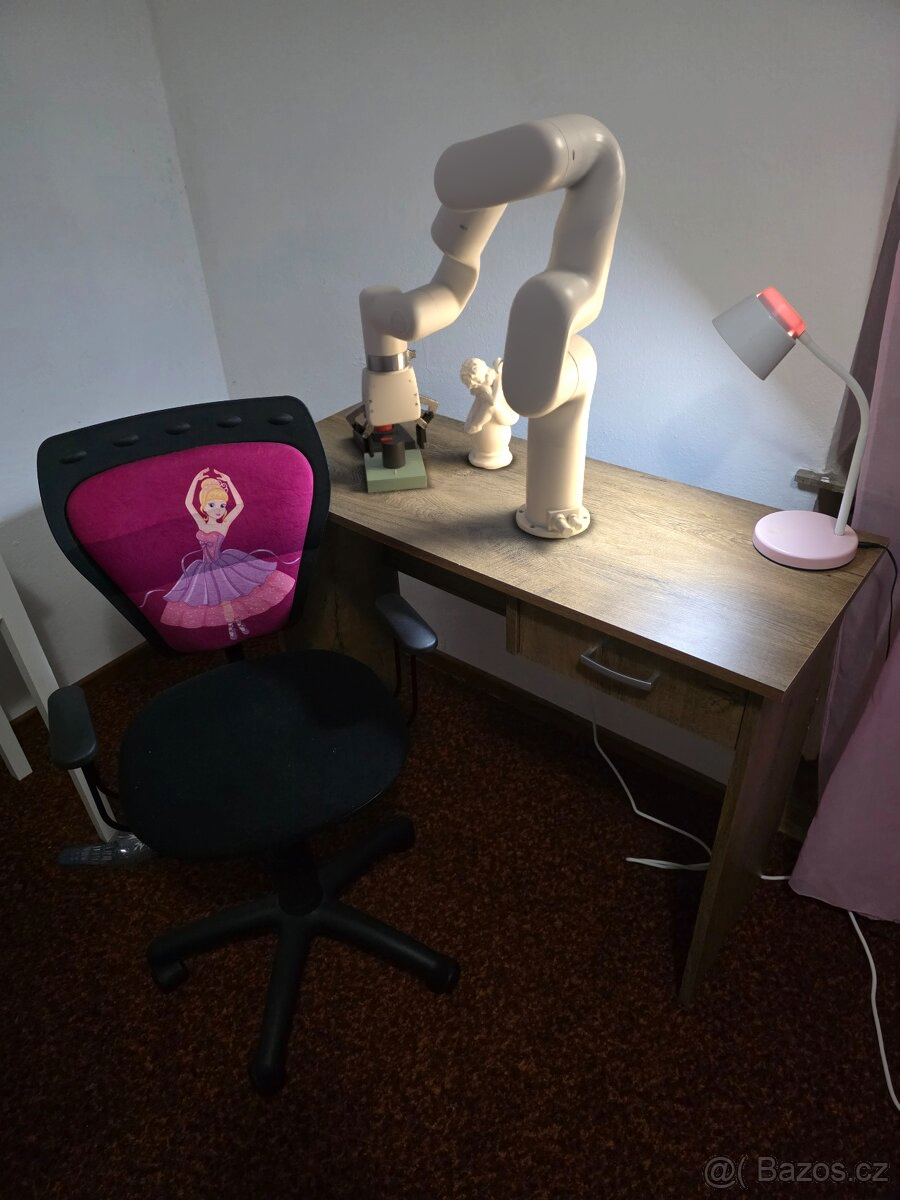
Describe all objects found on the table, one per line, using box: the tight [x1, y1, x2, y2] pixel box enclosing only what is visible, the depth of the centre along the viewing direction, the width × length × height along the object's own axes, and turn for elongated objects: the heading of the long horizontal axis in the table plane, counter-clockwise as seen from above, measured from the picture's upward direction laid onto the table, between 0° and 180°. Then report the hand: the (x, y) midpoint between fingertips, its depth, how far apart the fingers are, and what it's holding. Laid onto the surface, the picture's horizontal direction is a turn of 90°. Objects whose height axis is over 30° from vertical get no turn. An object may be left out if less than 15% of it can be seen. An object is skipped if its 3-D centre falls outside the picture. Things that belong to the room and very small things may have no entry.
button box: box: [352, 423, 416, 455], centre depth 165 cm, size 11×10×4 cm
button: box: [373, 424, 392, 431], centre depth 163 cm, size 4×4×2 cm
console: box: [363, 448, 428, 493], centre depth 153 cm, size 12×11×3 cm
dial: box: [381, 435, 406, 469], centre depth 151 cm, size 4×4×5 cm
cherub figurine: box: [459, 356, 520, 470], centre depth 154 cm, size 12×12×22 cm
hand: (396, 450), depth 150 cm, fingers open, 9 cm apart
